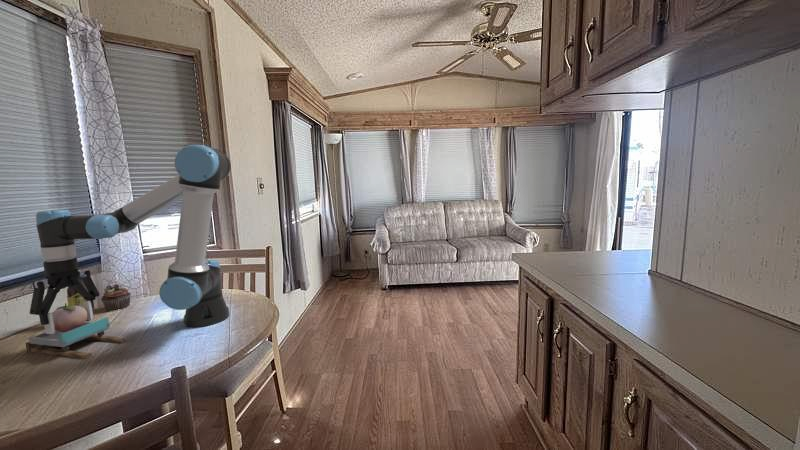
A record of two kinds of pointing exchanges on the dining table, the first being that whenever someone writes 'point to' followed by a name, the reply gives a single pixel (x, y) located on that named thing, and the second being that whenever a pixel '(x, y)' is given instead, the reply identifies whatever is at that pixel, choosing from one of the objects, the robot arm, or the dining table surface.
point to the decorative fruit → (69, 317)
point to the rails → (86, 355)
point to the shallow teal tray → (71, 335)
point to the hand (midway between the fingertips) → (70, 326)
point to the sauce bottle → (75, 295)
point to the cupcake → (115, 297)
